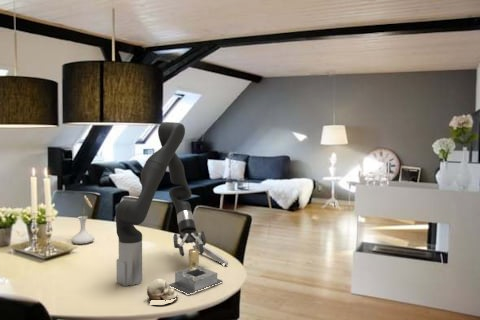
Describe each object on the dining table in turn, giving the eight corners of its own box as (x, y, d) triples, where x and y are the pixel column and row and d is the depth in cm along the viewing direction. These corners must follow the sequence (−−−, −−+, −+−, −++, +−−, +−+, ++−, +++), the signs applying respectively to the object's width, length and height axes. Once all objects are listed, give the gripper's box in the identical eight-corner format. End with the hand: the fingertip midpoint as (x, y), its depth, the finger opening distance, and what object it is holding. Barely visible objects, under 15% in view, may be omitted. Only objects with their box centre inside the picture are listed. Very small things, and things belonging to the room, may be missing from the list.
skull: (179, 288, 157) (178, 276, 149) (176, 315, 150) (176, 303, 142) (147, 288, 156) (145, 275, 148) (143, 314, 149) (141, 303, 141)
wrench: (224, 273, 185) (190, 249, 208) (227, 272, 186) (193, 248, 209) (225, 256, 184) (191, 234, 207) (229, 255, 185) (194, 233, 208)
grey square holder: (188, 296, 153) (188, 283, 152) (168, 286, 161) (169, 274, 160) (222, 283, 166) (222, 271, 165) (202, 275, 174) (203, 263, 173)
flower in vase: (89, 245, 211) (89, 198, 209) (67, 245, 211) (67, 197, 209) (98, 238, 224) (98, 194, 222) (78, 238, 224) (77, 193, 222)
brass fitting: (192, 275, 173) (193, 252, 173) (186, 272, 176) (186, 250, 176) (200, 272, 177) (200, 250, 176) (194, 270, 180) (194, 248, 179)
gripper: (172, 219, 182) (178, 252, 172) (202, 217, 187) (210, 248, 178) (169, 228, 187) (175, 260, 178) (199, 225, 193) (206, 256, 183)
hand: (192, 254), depth 178 cm, fingers open, 8 cm apart
